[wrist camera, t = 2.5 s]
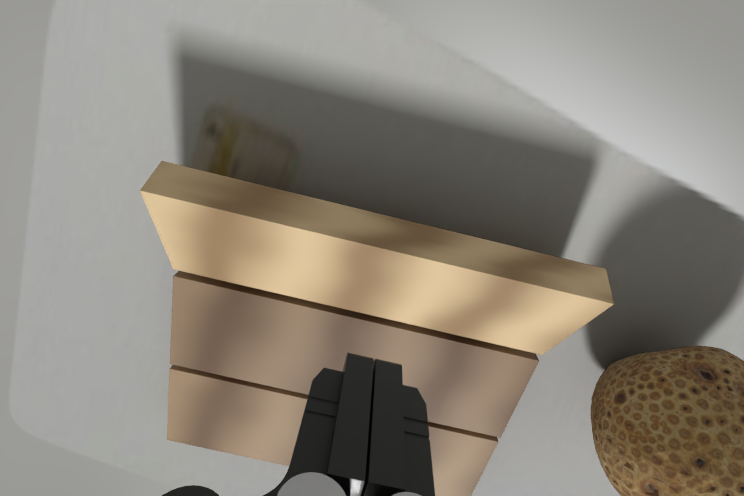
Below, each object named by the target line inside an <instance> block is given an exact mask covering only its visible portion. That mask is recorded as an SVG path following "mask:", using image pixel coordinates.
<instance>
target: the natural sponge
mask: <svg viewBox="0 0 744 496" xmlns="http://www.w3.org/2000/svg"><path fill="white" fill-rule="evenodd" d="M591 422H592V432H593V439H594V444H595V449H596V452H597V455H598V458H599V460H600V463H601V465H602V467H603V469H604V471H605V473H606V475H607V477H608V479H609V481H610V482H611V484H612V485H613V486H614V488H615V489H616V490H617V492H618V493H619V494H620V495H621V496H744V361H743V360H741V359H740V358H738V357H737V356H735V355H733V354H731V353H729V352H727V351H725V350H723V349H719V348H715V347H706V346H690V347H681V348H675V349H670V350H664V351H655V352H647V353H640V354H636V355H633V356H630V357H626V358H623V359H620V360H618V361H616V362H614V363H612V364H611V365H610V366H609V367H607V369H606V370H605V371H604V372H603V374H602V375H601V376H600V378H599V380H598V382H597V384H596V387H595V390H594V393H593V396H592V404H591Z"/></svg>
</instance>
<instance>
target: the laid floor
mask: <svg viewBox="0 0 744 496" xmlns="http://www.w3.org/2000/svg"><path fill="white" fill-rule="evenodd" d="M347 353H352V354H357V355H361V356H366V357H370V358H373V359H374V360H375V359H380V360H384V361H389V362H393V363H398V364H401V365H402V379H403V385H406V386H410V387H415V388H418V390H419V392H420V394H421V396H422V398H423V399H424V401H425V403H426V406H427V417H428V427H429V440H430V447H431V458H432V468H433V478H434V488H435V496H471V495H472V493H473V491H474V489H475V487H476V485H477V483H478V481H479V479H480V477H481V475H482V473H483V471H484V469H485V467H486V465H487V463H488V461H489V459H490V457H491V455H492V453H493V451H494V449H495V447H496V445H497V443H498V439H497V437H501V435H502V433H503V431H504V429H505V427H506V426H507V424H508V422H509V420H510V418H511V416H512V414H513V412H514V410H515V408H516V406H517V404H518V402H519V400H520V398H521V396H522V394H523V392H524V390H525V388H526V386H527V384H528V382H529V380H530V378H531V376H532V374H533V372H534V370H535V368H536V366H537V364H538V362H539V360H538V358H537V356H536V354H535V353H531V352H527V351H523V350H519V349H514V348H510V347H506V346H501V345H497V344H493V343H488V342H484V341H480V340H476V339H471V338H467V337H463V336H458V335H454V334H450V333H445V332H441V331H437V330H432V329H428V328H424V327H420V326H415V325H411V324H407V323H402V322H398V321H394V320H389V319H385V318H381V317H377V316H372V315H368V314H364V313H359V312H355V311H351V310H346V309H342V308H338V307H334V306H329V305H325V304H321V303H316V302H312V301H308V300H303V299H299V298H295V297H291V296H286V295H282V294H278V293H273V292H269V291H265V290H260V289H256V288H252V287H248V286H243V285H239V284H235V283H230V282H226V281H222V280H217V279H213V278H209V277H205V276H200V275H196V274H192V273H187V272H183V271H179V272H177V273H176V274H175V275H174V276H173V298H172V324H171V350H170V364H172V367H171V368H170V375H169V401H168V427H167V440H170V441H175V442H180V443H184V444H189V445H193V446H198V447H203V448H207V449H212V450H217V451H221V452H226V453H231V454H235V455H240V456H245V457H249V458H254V459H259V460H263V461H268V462H272V463H277V464H282V465H286V466H290V462H291V458H292V455H293V451H294V447H295V443H296V440H297V436H298V432H299V429H300V425H301V421H302V417H303V414H304V410H305V406H306V403H307V399H308V395H309V391H310V388H311V384H312V380H313V379H314V378H315V377H316V376H317V375H318V374H319V372H320V371H321V370H322V369H323V368H328V369H333V370H337V371H343V367H344V363H345V359H346V355H347Z"/></svg>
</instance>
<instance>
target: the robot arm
mask: <svg viewBox="0 0 744 496" xmlns="http://www.w3.org/2000/svg"><path fill="white" fill-rule="evenodd" d="M162 496H219V495H218V494H217V493H215V492H214V491H213V490H211V489H209V488H206V487H202V486H194V485H193V486H184V487H180V488H177V489H174V490H172V491H170V492H168V493H166V494H164V495H162ZM263 496H435V488H434V478H433V468H432V458H431V447H430V440H429V427H428V417H427V406H426V403H425V401H424V399H423V398H422V396H421V394H420V392H419V390H418V388H415V387H410V386H406V385H403V379H402V365H401V364H398V363H393V362H389V361H384V360H380V359H375V360H374V359H373V358H370V357H366V356H361V355H357V354H352V353H347V355H346V359H345V363H344V367H343V371H337V370H333V369H328V368H323V369H322V370H321V371H320V372H319V374H318V375H317V376H316V377H315V378H314V379H313V380H312V384H311V388H310V391H309V395H308V399H307V403H306V406H305V410H304V414H303V417H302V421H301V425H300V429H299V432H298V436H297V440H296V443H295V447H294V451H293V455H292V458H291V462H290V466H289V469H288V472H287V474H286V475H285V477H284V479H283V480H282V481H281V483H280V484H279V485H278V486H277V487H276V488H275V489H273V490H272V491H270V492H269V493H267V494H265V495H263Z"/></svg>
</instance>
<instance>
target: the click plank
mask: <svg viewBox="0 0 744 496" xmlns="http://www.w3.org/2000/svg"><path fill="white" fill-rule="evenodd" d="M140 192H141V194H142V196H143V199H144V201H145V203H146V206H147V208H148V210H149V213H150V215H151V217H152V220H153V222H154V224H155V227H156V229H157V231H158V234H159V236H160V238H161V241H162V243H163V246H164V248H165V250H166V253H167V255H168V257H169V260H170V262H171V264H172V267H173V269H174V270H179V271H183V272H187V273H192V274H196V275H200V276H205V277H209V278H213V279H217V280H222V281H226V282H230V283H235V284H239V285H243V286H248V287H252V288H256V289H260V290H265V291H269V292H273V293H278V294H282V295H286V296H291V297H295V298H299V299H303V300H308V301H312V302H316V303H321V304H325V305H329V306H334V307H338V308H342V309H346V310H351V311H355V312H359V313H364V314H368V315H372V316H377V317H381V318H385V319H389V320H394V321H398V322H402V323H407V324H411V325H415V326H420V327H424V328H428V329H432V330H437V331H441V332H445V333H450V334H454V335H458V336H463V337H467V338H471V339H476V340H480V341H484V342H488V343H493V344H497V345H501V346H506V347H510V348H514V349H519V350H523V351H527V352H531V353H536V354H540V355H543V354H544V353H546V352H547V351H548V350H550V349H551V348H553V347H554V346H556V345H557V344H558V343H560V342H561V341H563V340H564V339H565V338H567V337H568V336H570V335H571V334H573V333H574V332H575V331H577V330H578V329H580V328H581V327H582V326H584V325H585V324H587V323H588V322H590V321H591V320H592V319H594V318H595V317H597V316H598V315H599V314H601V313H602V312H604V311H605V310H607V309H608V308H609V307H611V306H612V305H614V301H613V297H612V293H611V288H610V284H609V280H608V275H607V271H606V269H605V268H601V267H597V266H592V265H588V264H584V263H580V262H576V261H572V260H568V259H564V258H559V257H555V256H551V255H547V254H543V253H539V252H535V251H531V250H527V249H522V248H518V247H514V246H510V245H506V244H502V243H498V242H494V241H490V240H485V239H481V238H477V237H473V236H469V235H465V234H461V233H457V232H453V231H448V230H444V229H440V228H436V227H432V226H428V225H424V224H420V223H416V222H411V221H407V220H403V219H399V218H395V217H391V216H387V215H383V214H378V213H374V212H370V211H366V210H362V209H358V208H354V207H350V206H346V205H341V204H337V203H333V202H329V201H325V200H321V199H317V198H313V197H309V196H304V195H300V194H296V193H292V192H288V191H284V190H280V189H276V188H272V187H267V186H263V185H259V184H255V183H251V182H247V181H243V180H239V179H235V178H230V177H226V176H222V175H218V174H214V173H210V172H206V171H202V170H197V169H193V168H189V167H185V166H181V165H177V164H173V163H169V162H165V161H161V163H160V164H159V165H158V167H157V168H156V169H155V171H154V172H153V174H152V175H151V176H150V178H149V179H148V180H147V182H146V183H145V184H144V186H143V187H142V189H141V190H140Z"/></svg>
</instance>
